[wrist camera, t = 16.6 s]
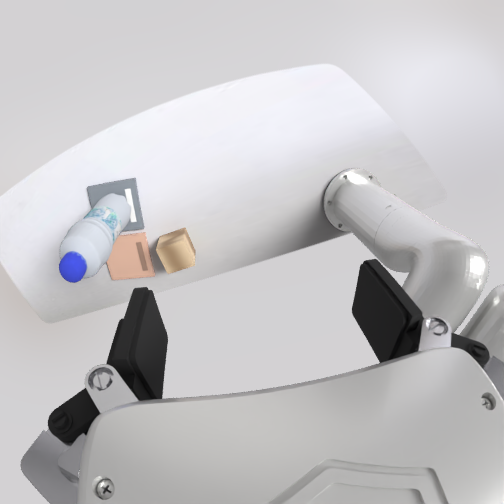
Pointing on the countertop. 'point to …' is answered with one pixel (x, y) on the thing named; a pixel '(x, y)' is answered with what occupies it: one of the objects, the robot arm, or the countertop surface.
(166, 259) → the oak block
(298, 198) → the countertop surface
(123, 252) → the terracotta tile
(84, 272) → the bottle
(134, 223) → the slate mat
